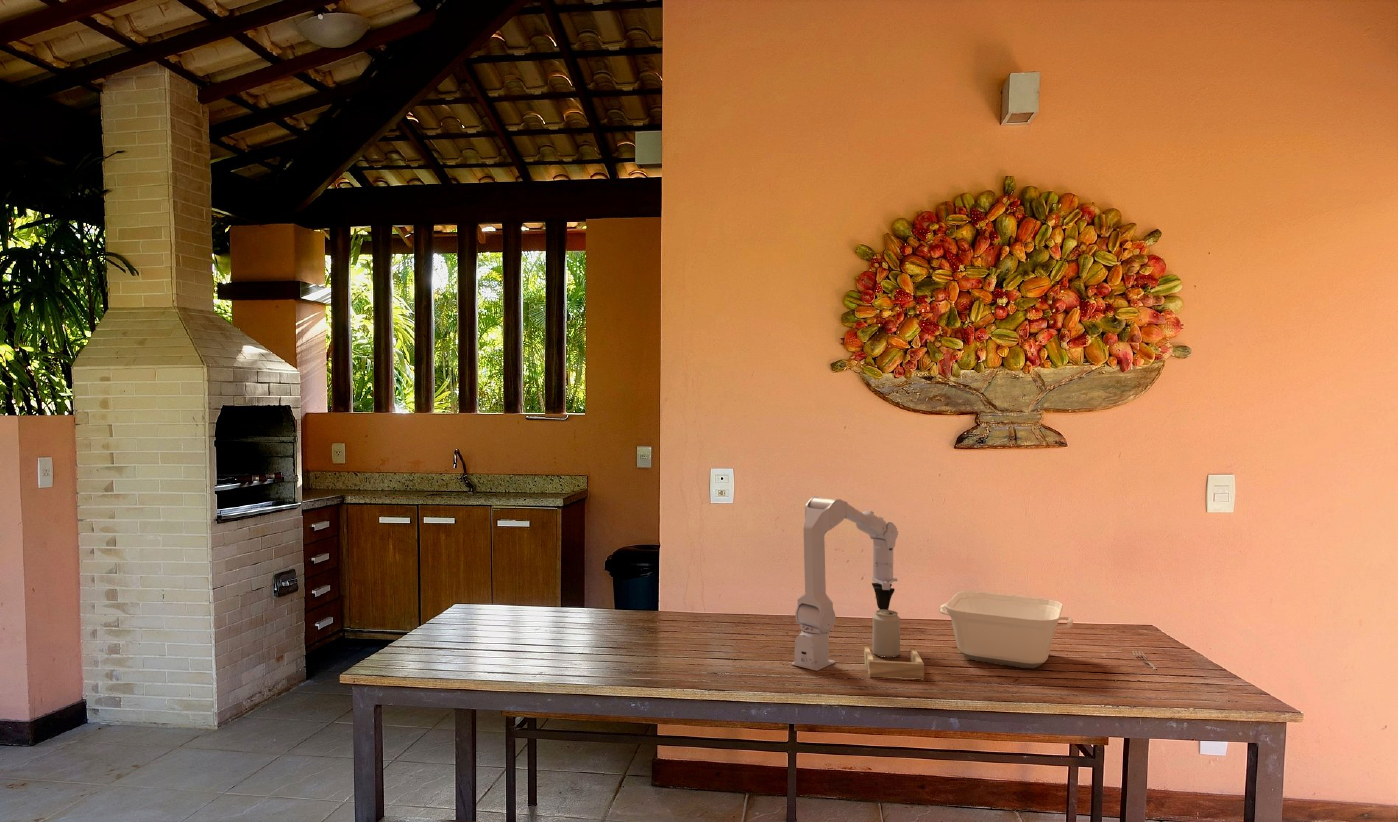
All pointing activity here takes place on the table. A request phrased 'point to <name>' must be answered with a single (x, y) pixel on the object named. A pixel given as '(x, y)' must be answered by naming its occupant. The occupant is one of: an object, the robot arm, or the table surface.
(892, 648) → the can
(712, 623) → the table surface
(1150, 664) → the fork
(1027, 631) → the pot
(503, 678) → the table surface
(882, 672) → the tray
